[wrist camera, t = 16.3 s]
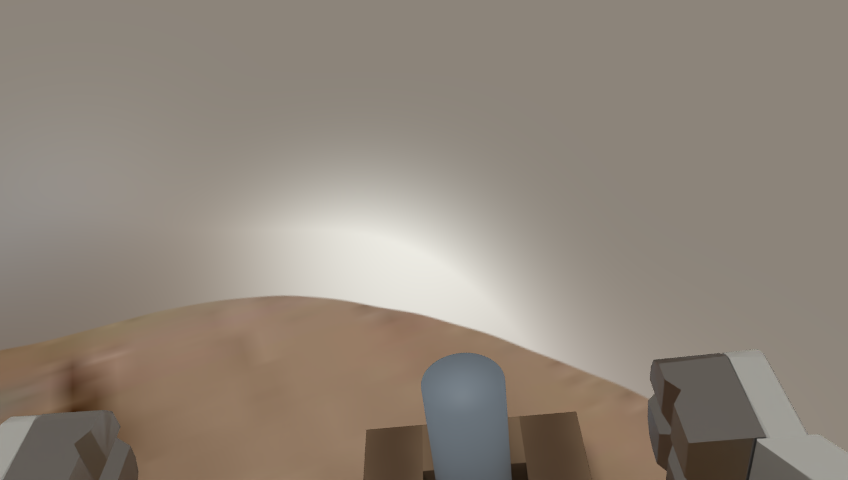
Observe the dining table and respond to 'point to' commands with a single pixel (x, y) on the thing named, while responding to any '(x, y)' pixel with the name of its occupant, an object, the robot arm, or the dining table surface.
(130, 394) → the dining table surface
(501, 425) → the peg
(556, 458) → the socket
